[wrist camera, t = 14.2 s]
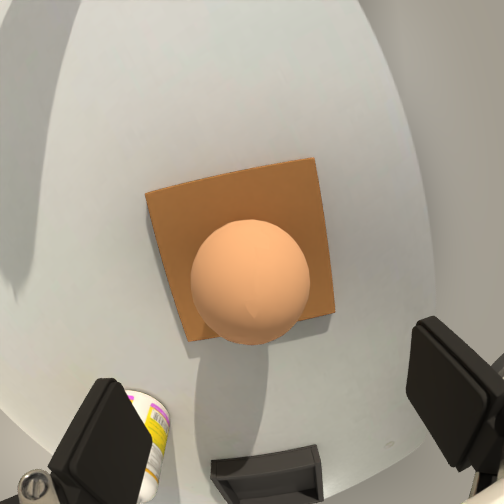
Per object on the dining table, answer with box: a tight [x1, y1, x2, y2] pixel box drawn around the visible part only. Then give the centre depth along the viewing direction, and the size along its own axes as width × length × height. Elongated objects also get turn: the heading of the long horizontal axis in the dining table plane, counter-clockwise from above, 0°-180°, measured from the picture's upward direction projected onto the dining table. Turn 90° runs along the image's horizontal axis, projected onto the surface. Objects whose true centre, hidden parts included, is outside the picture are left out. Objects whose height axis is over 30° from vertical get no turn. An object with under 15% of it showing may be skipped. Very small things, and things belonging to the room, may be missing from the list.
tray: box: [210, 445, 324, 504], centre depth 29 cm, size 12×12×3 cm
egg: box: [191, 219, 310, 345], centre depth 17 cm, size 7×7×9 cm
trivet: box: [145, 158, 335, 342], centre depth 22 cm, size 12×12×1 cm
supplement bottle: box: [125, 390, 170, 504], centre depth 20 cm, size 7×7×13 cm
